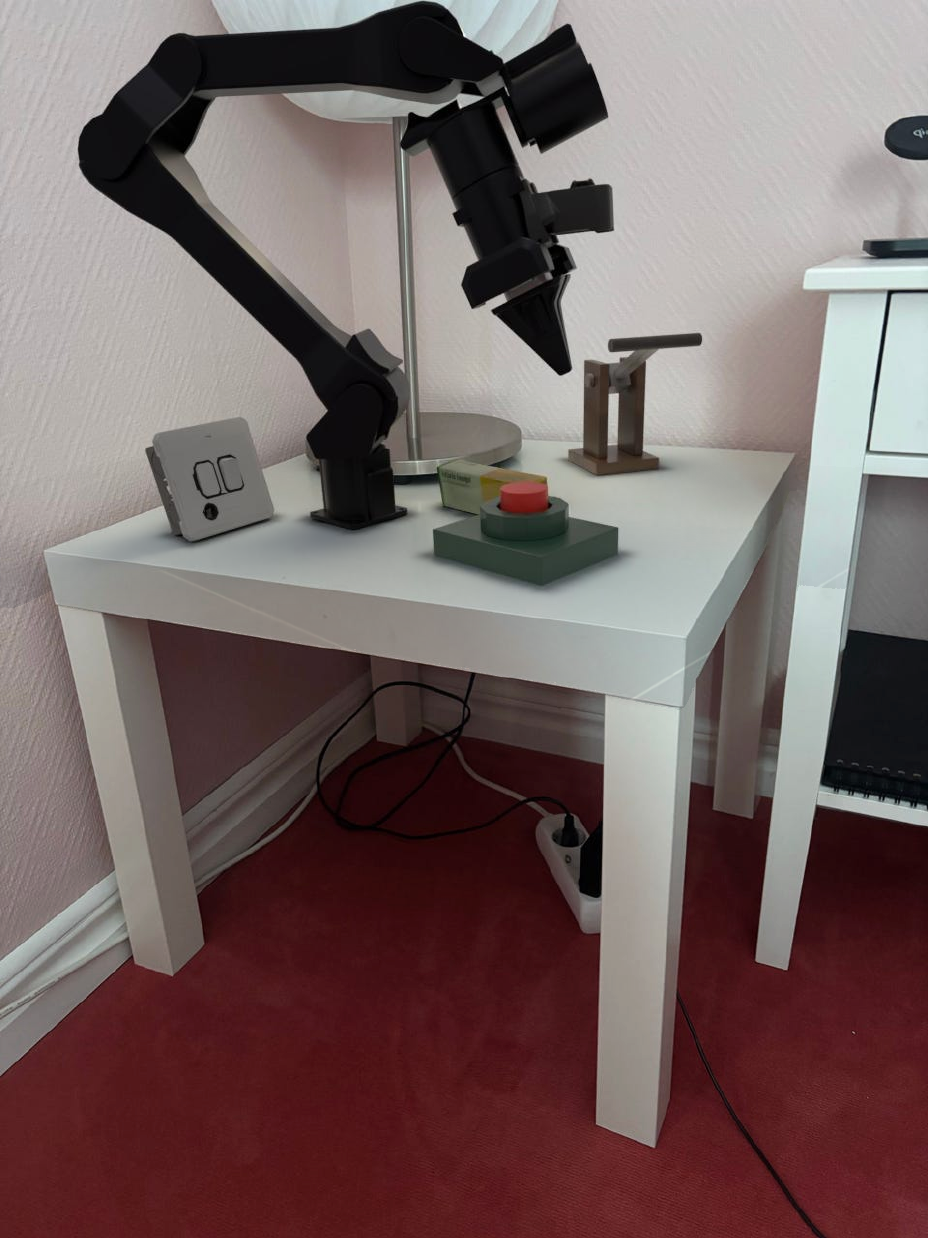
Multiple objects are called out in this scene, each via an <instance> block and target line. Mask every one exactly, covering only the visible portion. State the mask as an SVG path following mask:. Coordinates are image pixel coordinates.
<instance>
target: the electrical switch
mask: <svg viewBox="0 0 928 1238" xmlns="http://www.w3.org/2000/svg"><path fill="white" fill-rule="evenodd" d="M151 443H152V446H148V447H145V449H144V452H145V454H146V457H147V462H148V464H149V467H150V470H151V472H152V475H153V478H154V481H155V484H156V487H157V490H158V493H159V496H160V499H161V502H162V505H163V508H164V512H165V514H166V517H167V520H168V523H169V526H170V529H171V531H172V535H173V536H175V535H176V536H177V535H182V537H183V538H184V539H186V540H187V541H188V542H196V541H199V540H203V539H206V538H208V537H212V536H216V535H219V534H221V533H224V532H229V531H231V530H235V529H238V528H241V527H244V526H248V525H251V524H255V523H258V522H261V521H263V520H267V519H269V518H272V517H273V515H274V512H275V508H274V507H275V506H274V505H273V500H272V498H271V497H272V496H271V494H270V491H269V488H268V485H267V482H266V478H265V475H264V472H263V469H262V465H261V462H260V458H259V455H258V453H257V449H256V446H255V444H254V443H255V442H254V440H253V436H252V433H251V430H250V427H249V423H248V421H247V420H246V419H245V418H243V417H242V416H237V417H230V418H225V419H221V420H215V421H212V422H211V421H210V422H206V423H199V424H195V425H190V426H185V427H181V428H176V429H175V428H174V429H170V430H165V431H160V432H157V433H155V434H154V435H153V438H152V441H151ZM168 488H169V490H168Z"/></svg>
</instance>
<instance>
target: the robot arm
mask: <svg viewBox="0 0 928 1238" xmlns="http://www.w3.org/2000/svg"><path fill="white" fill-rule="evenodd" d="M342 91H344V92H345V91H355V92H359V93H360V92H361V93H367V94H372V95H375V96H381V97H386V98H391V99H396V100H403V101H406V102H407V101H409V102H414V103H421V104H428V105H441V104H442V105H443V104H446V103H448V104H446V105H444V106H442V107H440V108H439V109H437V110H435V111H433V112H432V113H430V114H428V115H427V116H423V115H419V114H417V113H416V112H415V111H409V112H408V113H407V115H406V116H407V119H406V127H405V130H404V131H403V135H402V137H401V139H400V141H399V148H400V149H402V151H404V152H405V153H406V154H407V155H409V156H410V157H416V156H418V155H419V154H421V153H423V152H425V151H427V150H428V149H429V151H430V153H431V156H432V158H433V160H434V162H435V165H436V166H437V169H438V171H439V173H440V177H442V178H441V179H442V181H443V182H444V185H445V187H446V189H447V191H448V194H449V196H450V198H451V201H452V203H453V206H454V208H455V210H456V211H453V212H452V214H451V215H452V216H453V219H454V222H455V223H456V226H457V227H459V228H461V227H462V228H463V229H464V231H465V233H466V236H467V238H468V240H469V242H470V244H471V247H472V249H473V252H474V254H475V257H476V259H477V261H475V262H473V263H471V264H469V265H467V266H466V268H465V271H464V274H463V277H462V280H461V284H460V286H461V288H462V290H463V293H464V295H465V298H466V300H467V302H468V304H469V306H470V308H471V310H476V309H479V308H482V307H483V306H486V305H487V302H489V301H491V300H493V299H495V298H497V297H499V296H501V295H503V296H504V298H505V299H506V301H505V302H503V303H501V304H499V305H498V306H496V307H493V308H492V309H490V312H491V314H493V316H495V317H497V318H498V319H499V320H500V321H501V323H503V324H504V325H505V326H507V328H509V329H510V330H511V331H512V333H514V334H515V335H516V336H517V337H518V338H519V339H520V340H521V341H522V342H524V343H525V344H526V346H528V347H529V348H530V349H531V350H532V351H533V352H534V353H535V354H536V355H537V356H538V357H539V358H540V359H541V360H542V361H543V362H544V363H545V364H546V365H547V366H548V367H549V368H551V369H552V370H553V372H554V373H556V375H558V376H559V377H562V376H564V375H566V374H568V373H569V374H570V373H571V371H572V370H573V363H572V359H571V354H570V349H569V341H568V338H567V332H566V325H565V321H564V313H563V311H562V310H563V309H562V304H561V303H562V299H563V297H564V294H565V291H566V289H567V287H568V284H569V282H570V280H571V278H572V277H571V276H572V275H571V272H574V271H575V270H577V269H578V266H577V264H576V262H575V259H574V257H573V255H572V252H571V250H570V247H568V246H565V245H562V244H559V243H560V241H559V238H558V236H564V235H573V234H580V233H589V232H595V233H596V234H603V233H611V232H614V231H615V222H614V218H615V217H614V193H613V192H614V191H613V187H612V186H611V184H609V183H602V184H596V183H595V181H594V179H593V178H592V177H590V178H587V179H584V180H577V179H574V180H572V182H571V184H570V186H569V188H561V189H555V190H550V191H541V192H539V191H538V189H537V186H536V184H535V183H534V182H533V181H531V182H530V181H529V179H527V178H525V176H524V173H523V171H522V169H521V167H520V164H519V161H518V159H517V157H516V154H515V152H514V150H513V147H512V145H511V143H510V140H509V137H508V135H507V133H506V130H505V127H504V125H503V123H502V121H501V120H502V119H501V118H500V116H499V114H498V111H497V110H499V109H500V108H502V107H504V108H505V110H506V114H507V115H508V118H509V120H510V123H511V125H512V127H513V130H514V132H515V135H516V137H517V139H518V142H519V144H520V146H521V148H522V149H523V148H525V147H527V146H529V147H530V148H532V147H533V146H535V145H536V146H537V149H538V151H539V154H540V155H543V154H544V153H546V152H548V151H550V150H552V149H554V148H555V147H557V146H560V145H561V144H563V143H564V142H567V141H568V140H570V139H572V138H574V137H576V136H577V135H579V134H581V133H583V132H585V131H586V130H588V129H590V128H592V127H594V126H596V125H597V124H599V123H601V122H603V121H605V120H606V119H609V112H608V108H607V105H606V101H605V97H604V95H603V92H602V89H601V86H600V83H599V81H598V78H597V74H596V72H595V70H594V67H593V65H592V62H591V61H589V62H588V60H587V58H586V55H585V53H584V51H583V48H582V46H581V44H580V42H579V40H578V39H577V37H576V35H575V32H574V29H573V26H572V24H571V23H568V22H567V23H565V24H563V25H561V26H560V27H558V28H557V29H555V30H553V31H551V33H549V34H548V35H547V37H546V38H545V39H543V40H541V41H540V42H538V43H536V44H535V45H533V46H531V47H529V48H528V49H526V50H524V51H523V52H520V53H519V54H518V55H516V56H514V57H513V58H510V59H509V60H507V61H504V60H503V58H502V57H500V56H498V55H497V54H495V53H494V50H493V49H491V50H488V49H487V48H485V47H483V46H481V45H480V44H478V43H477V42H475V41H473V40H471V39H469V38H468V37H467V36H466V34H465V32H464V31H463V28H462V26H461V25H460V23H459V21H458V18H456V16H454V14H453V13H452V12H451V11H450V10H449V9H448V8H446V7H445V5H443V4H441V3H439V2H436V1H430V0H417V1H414V2H410V3H406V4H403V5H398V6H395V7H391V8H388V9H385V10H381V11H378V12H375V13H372V14H371V15H369V16H366V17H365V18H362V19H360V20H358V21H356V22H354V23H350V24H346V25H342V26H339V27H326V28H324V27H323V28H309V29H307V28H306V29H291V30H290V29H289V30H275V31H274V30H271V31H255V32H239V33H237V32H236V33H222V34H221V33H220V34H218V33H217V34H205V35H203V34H202V35H192V34H188V33H185V32H178V33H172V34H170V35H169V36H166V38H165V39H163V41H162V42H161V43H160V44H159V45H158V47H157V49H156V50H155V52H154V53H153V55H152V56H151V58H150V59H149V60H148V62H147V64H146V65H144V67H142V68H141V69H140V70H139V71H138V72H136V74H135V75H134V76H133V77H132V78H130V79H129V80H128V81H127V82H126V83H125V84H124V85H123V86H122V87H121V88H119V90H117V91H116V93H115V94H114V95H113V96H112V98H111V100H110V101H109V103H108V104H107V105H106V107H105V109H104V110H103V112H102V113H101V114H99V115H97V116H94V117H92V118H91V119H89V120H88V122H86V124H85V125H84V126H83V127H82V130H81V132H80V134H79V137H78V143H77V155H78V161H79V162H78V168H79V169H80V171H81V174H82V176H83V177H84V178H85V180H86V181H87V182H88V184H89V185H90V186H92V188H94V189H95V190H97V191H98V192H99V193H100V194H102V195H104V196H105V197H106V198H108V199H109V200H110V201H112V202H113V203H115V204H117V206H119V207H121V208H122V209H123V210H125V211H126V212H128V213H129V214H131V215H133V216H134V217H137V218H138V219H140V220H141V221H143V222H145V223H147V224H149V225H151V226H153V227H154V228H156V229H158V230H160V231H162V232H163V233H164V234H166V235H168V237H170V238H172V239H173V240H174V242H176V243H177V244H178V245H179V246H180V247H181V248H182V249H183V250H184V251H185V252H186V253H187V254H188V255H189V256H190V257H191V258H192V259H193V260H194V261H195V263H197V264H198V265H199V266H200V267H201V268H202V269H203V270H204V271H205V272H206V273H207V274H208V275H210V277H212V278H213V279H214V281H216V282H217V284H219V286H221V287H222V288H223V289H224V290H225V291H226V292H227V293H228V295H230V296H231V297H232V299H234V300H235V301H236V302H237V303H238V304H239V306H241V307H242V308H243V309H244V310H245V311H246V312H247V313H248V314H249V315H250V316H251V317H252V318H253V319H254V320H255V321H256V322H257V323H258V324H259V325H260V326H262V328H264V330H266V332H268V333H269V334H270V335H271V337H273V338H274V340H275V341H277V342H278V343H279V344H280V345H281V346H282V347H283V348H284V350H286V351H287V352H288V353H289V354H290V355H291V356H292V357H293V358H294V359H295V360H296V361H297V362H298V363H299V366H301V368H302V371H303V372H304V375H305V376H306V378H307V380H308V382H309V384H310V386H311V388H312V390H313V392H314V394H315V396H316V397H317V398H318V401H320V402H321V404H322V405H323V407H324V408H325V409H326V410H327V411H326V412H325V413H324V414H323V415H322V416H321V418H320V419H319V420H318V421H317V422H316V423H315V424H314V426H313V427H312V428H311V429H310V430H309V431H308V433H307V434H306V435H305V438H306V441H307V443H308V446H309V448H310V450H311V452H312V455H313V456H314V458H315V459H316V460H318V465H319V475H320V477H319V478H320V485H321V496H322V505H323V508H320V509H317V510H312V511H310V512H309V517H310V519H313V520H317V521H321V522H324V523H327V524H331V525H334V526H339V527H343V528H346V529H349V530H357V529H360V528H361V529H362V528H363V527H368V526H371V525H374V524H378V523H381V522H384V521H388V520H391V519H395V518H398V517H402V516H405V515H407V514H408V508H407V507H405V506H400V505H396V493H395V478H394V469H393V468H392V462H391V460H392V459H391V449H390V448H387V447H386V444H384V443H382V442H383V441H385V440H387V439H388V438H389V435H390V432H391V428H392V427H393V425H394V424H396V423H397V421H399V419H401V417H402V416H403V415H404V414H405V412H406V410H408V407H409V404H410V401H411V387H410V386H411V385H410V381H409V379H408V377H407V375H406V373H405V372H404V371H403V370H402V369H401V368H400V367H399V366H401V365H402V364H403V363H404V360H403V358H400V357H398V356H395V355H393V353H391V352H390V351H388V349H386V347H385V346H384V345H383V343H382V342H381V341H380V339H379V337H377V335H376V334H375V332H373V331H372V329H371V328H366V329H363V330H361V331H359V332H355V333H353V334H352V335H351V334H349V333H347V332H346V331H344V330H342V329H341V328H339V327H338V326H336V325H335V324H333V322H332V321H330V319H328V318H327V317H326V315H325V314H323V312H322V311H321V310H320V309H319V308H317V306H316V305H315V304H314V303H313V302H312V301H311V300H309V299H308V297H307V296H306V295H304V293H303V292H302V291H300V289H299V288H298V287H297V286H296V285H294V283H293V282H292V281H291V280H290V279H289V278H288V277H287V276H286V275H285V274H284V273H282V271H280V270H279V268H278V267H277V266H276V265H274V263H273V262H272V261H271V260H270V259H269V258H268V257H267V256H266V255H265V254H263V252H262V251H261V250H259V248H258V247H257V246H256V245H255V244H253V242H252V241H251V240H250V239H249V238H248V237H247V236H246V235H245V234H244V233H243V232H242V231H241V230H240V229H239V228H238V227H237V226H236V225H235V224H234V223H233V222H232V221H231V220H230V219H229V218H227V216H226V215H225V214H224V213H222V211H221V210H220V209H219V208H218V207H217V206H216V205H214V203H213V202H212V200H211V199H210V198H209V196H208V194H207V192H206V189H205V188H204V186H203V184H202V182H201V180H200V178H199V176H198V174H197V172H196V170H195V169H194V167H193V166H192V165H191V163H190V161H188V159H187V157H185V156H186V155H187V154H188V152H189V151H190V149H191V148H192V146H193V145H194V144H195V142H196V140H197V137H198V136H199V132H200V131H201V127H202V126H203V122H204V120H205V118H206V115H207V113H208V111H209V109H210V108H211V105H212V104H213V103H214V101H215V100H216V98H219V97H220V98H222V97H223V98H224V97H240V96H241V97H244V96H263V95H283V94H284V95H285V94H303V93H304V94H305V93H307V94H308V93H323V92H342ZM459 95H467V96H472V97H473V96H474V97H481V98H480V99H479V100H476V101H474V102H472V103H470V104H467V105H464V106H462V104H461V102H460V101H459V99H456V98H457V97H458V96H459Z"/></svg>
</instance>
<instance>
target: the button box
mask: <svg viewBox="0 0 928 1238" xmlns="http://www.w3.org/2000/svg"><path fill="white" fill-rule="evenodd" d="M619 531H620V530H619V526H615V525H610V524H604V523H600V522H595V521H591V520H586V519H581V518H576V517H571V516H570V505H569V503H568V502H567V501H566V500H564V499H562V498H561V497H558V496H552V495H549V496H548V509H547V510H544V511H539V512H530V513H513V512H506V511H502V510H501V508H500V497H497V498H494V499H491V500H487V501H485V502H484V503H483V504H482V506H481V507H480V514H479V515H478V514H475V515H474V516H469V517H466V518H463V519H461V520H458V521H454V522H451V523H448V524H445V525H442V526H438V527H436V528H433V529H432V541H433V542H432V543H433V555H434V556H435V557H438V558H442V559H445V560H449V561H452V562H456V563H459V564H463V565H466V566H469V567H473V568H477V569H481V570H483V571H486V572H491V573H494V574H497V575H500V576H501V575H502V576H505V577H508V578H512V579H515V580H519V581H521V582H526V583H529V584H533V585H536V586H540V587H543V586H545V585H548V584H550V583H553V582H555V581H557V580H560V579H562V578H565V577H567V576H569V575H571V574H574V573H576V572H577V573H578V572H579V571H582V570H584V569H587V568H588V567H591V566H593V565H595V564H598V563H601V562H603V561H605V560H607V559H610V558H613V557H615V556H617V555H619Z"/></svg>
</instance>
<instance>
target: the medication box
mask: <svg viewBox="0 0 928 1238" xmlns="http://www.w3.org/2000/svg"><path fill="white" fill-rule="evenodd" d="M436 474H437V479H438V485H439V493H440V497H441V503H442V507H447V508H451V509H455V510H458V511H464V512H466V513H471V514H475V515H479V514H480V507H481V506H482V504H483V503H484V502H485V501H487V500H491V499H494V498H497V497H500V488H501V486H503V485H506V484H509V483H515V482H537V483H542V484H545V485H547V486H548V477H547V476H544V475H539V474H533V473H528V472H523V471H517V470H513V469H512V470H511V469H508V468H501V467H497V466H491V465H485V464H481V463H475V462H471V461H465V460H460V459H457V458H456V459H454V460H450V461H446V462H444V463H442V464H440V465H438V466H436ZM548 487H549V486H548ZM548 496H550V494H549V492H548Z"/></svg>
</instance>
